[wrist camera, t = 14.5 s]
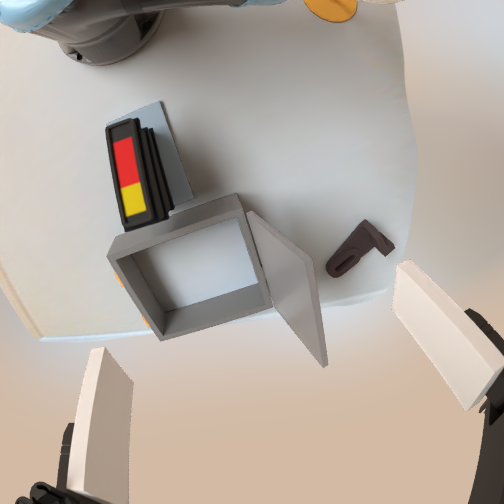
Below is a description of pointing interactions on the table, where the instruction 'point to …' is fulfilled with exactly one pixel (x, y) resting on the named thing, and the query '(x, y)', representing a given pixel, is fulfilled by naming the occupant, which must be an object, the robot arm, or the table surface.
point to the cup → (338, 8)
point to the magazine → (137, 175)
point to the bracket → (357, 248)
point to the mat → (164, 150)
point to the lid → (291, 285)
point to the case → (198, 313)
